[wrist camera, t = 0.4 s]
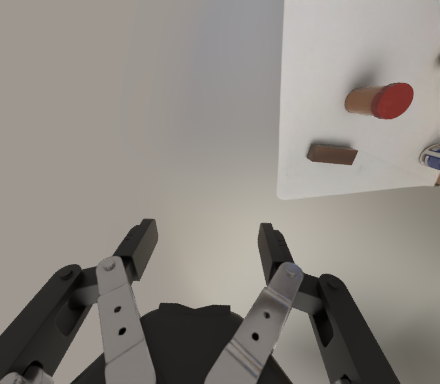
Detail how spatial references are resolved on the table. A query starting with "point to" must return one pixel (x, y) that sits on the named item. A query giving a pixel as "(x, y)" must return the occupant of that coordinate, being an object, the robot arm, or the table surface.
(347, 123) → the table surface
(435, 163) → the pill bottle
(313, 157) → the lid rest
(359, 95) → the jar
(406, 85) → the jar lid
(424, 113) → the table surface
